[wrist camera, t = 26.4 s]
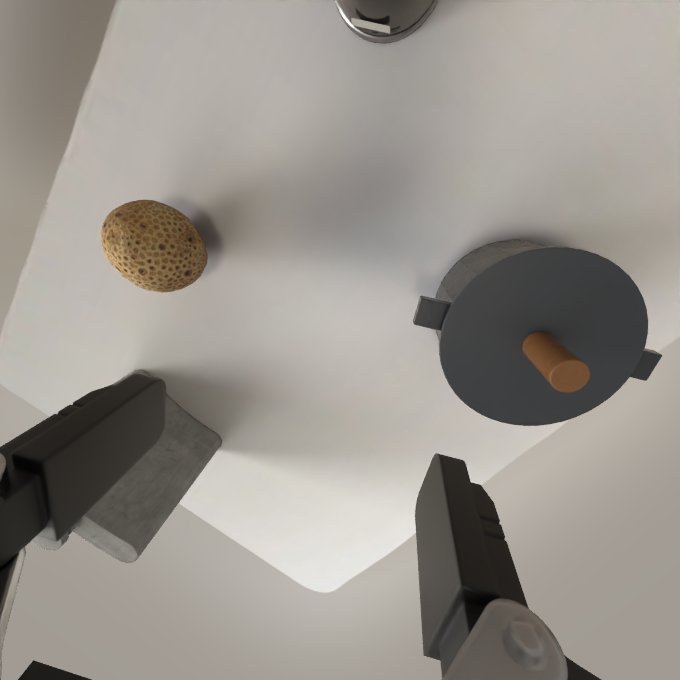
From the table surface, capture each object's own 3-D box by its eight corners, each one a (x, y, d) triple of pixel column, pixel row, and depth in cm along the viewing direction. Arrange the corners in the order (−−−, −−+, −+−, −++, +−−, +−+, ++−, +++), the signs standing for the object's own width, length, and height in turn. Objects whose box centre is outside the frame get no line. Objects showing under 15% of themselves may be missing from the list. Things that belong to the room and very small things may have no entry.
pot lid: (474, 225, 26) (497, 231, 20) (680, 271, 25) (771, 292, 19) (416, 394, 32) (421, 438, 26) (582, 437, 31) (628, 493, 25)
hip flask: (225, 441, 50) (124, 580, 31) (209, 455, 51) (104, 596, 33) (137, 365, 47) (-29, 468, 29) (123, 382, 49) (-43, 490, 30)
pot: (432, 220, 35) (444, 225, 26) (629, 264, 34) (715, 286, 25) (395, 345, 41) (395, 386, 31) (564, 387, 39) (615, 442, 30)
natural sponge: (234, 225, 38) (183, 232, 29) (211, 294, 42) (159, 320, 33) (160, 186, 38) (85, 180, 29) (142, 259, 41) (70, 275, 32)
